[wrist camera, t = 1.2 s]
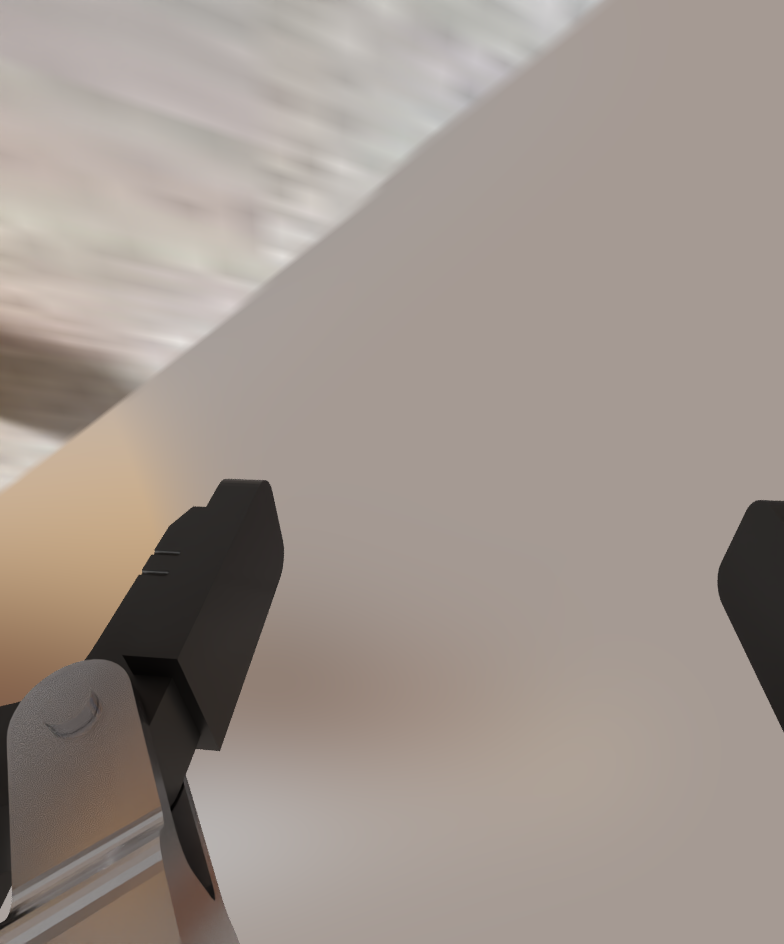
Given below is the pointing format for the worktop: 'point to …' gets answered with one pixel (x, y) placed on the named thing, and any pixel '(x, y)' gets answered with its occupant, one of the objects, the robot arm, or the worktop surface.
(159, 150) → the worktop surface
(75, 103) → the worktop surface
